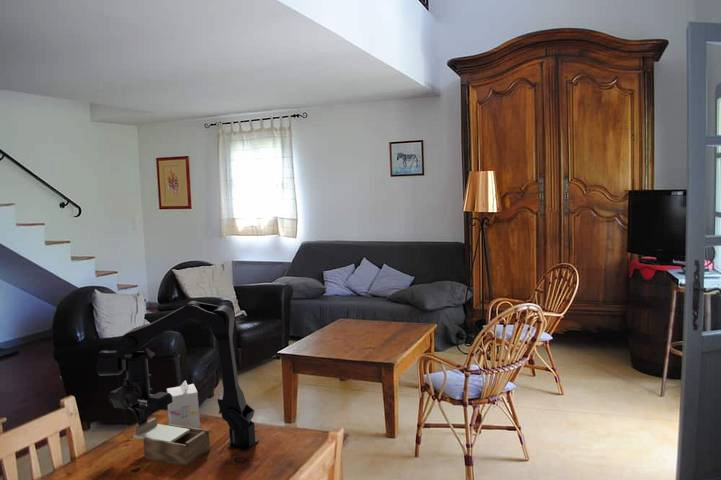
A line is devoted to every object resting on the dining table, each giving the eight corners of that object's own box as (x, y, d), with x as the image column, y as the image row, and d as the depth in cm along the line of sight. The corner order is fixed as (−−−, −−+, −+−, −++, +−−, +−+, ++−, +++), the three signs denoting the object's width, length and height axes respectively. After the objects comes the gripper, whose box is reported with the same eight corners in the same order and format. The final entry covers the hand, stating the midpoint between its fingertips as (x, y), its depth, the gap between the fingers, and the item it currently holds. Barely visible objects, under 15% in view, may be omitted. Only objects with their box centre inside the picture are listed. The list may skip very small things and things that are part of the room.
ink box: (168, 424, 182) (165, 382, 180) (195, 418, 185) (193, 377, 184) (172, 434, 174) (168, 391, 173) (200, 428, 178) (197, 386, 176)
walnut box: (210, 450, 163) (208, 429, 162) (186, 467, 154) (184, 445, 153) (170, 443, 168) (168, 423, 167) (145, 459, 159) (143, 438, 158)
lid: (190, 431, 164) (189, 422, 163) (170, 444, 156) (169, 434, 156) (154, 425, 169) (153, 416, 168) (132, 437, 161) (132, 428, 161)
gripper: (89, 380, 160) (95, 434, 161) (142, 386, 152) (147, 443, 154) (120, 367, 170) (125, 418, 171) (171, 372, 162) (176, 426, 164)
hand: (142, 426), depth 165 cm, fingers closed
